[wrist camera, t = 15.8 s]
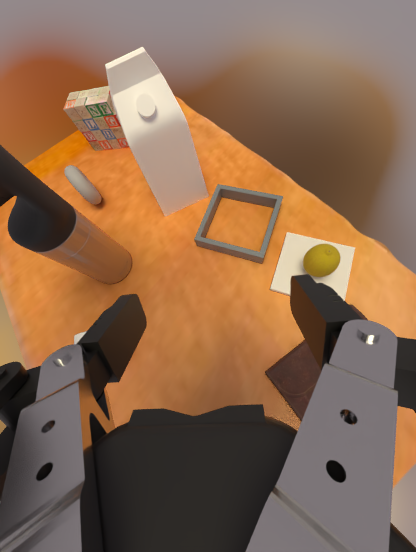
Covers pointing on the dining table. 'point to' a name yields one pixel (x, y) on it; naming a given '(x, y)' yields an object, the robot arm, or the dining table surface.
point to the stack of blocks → (96, 118)
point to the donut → (82, 184)
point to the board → (293, 265)
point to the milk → (156, 131)
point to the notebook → (298, 375)
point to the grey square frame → (243, 196)
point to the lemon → (321, 260)
